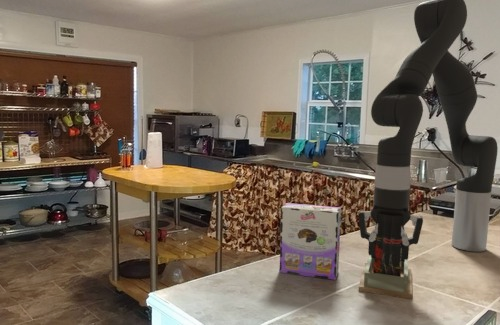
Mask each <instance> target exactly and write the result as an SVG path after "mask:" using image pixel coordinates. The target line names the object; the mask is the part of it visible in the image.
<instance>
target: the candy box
mask: <svg viewBox="0 0 500 325" xmlns="http://www.w3.org/2000/svg"><path fill="white" fill-rule="evenodd" d="M341 209H342V208H341V207H339V206H337V207H336V206H327V205H326V206H325V205H314V204H304V203H291V202H287V203H284V205H282V206H281V208H280V239H279V240H280V242H279V244H280V245H279V270H278V271H279V273H283V274H289V275H297V276H298V275H299V276H304V277H305V276H306V277H311V278H312V277H313V278H320V279H327V280H336V279H337V277H338V274H339V268H340V267H339V265H340V264H339V262H340V245H341V242H340V240H341V218H342V217H341V216H342V214H341V213H342V212H341V211H342V210H341Z"/></svg>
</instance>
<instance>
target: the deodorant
mask: <svg viewBox="0 0 500 325" xmlns="http://www.w3.org/2000/svg"><path fill="white" fill-rule="evenodd" d="M403 219H404V215H398V214H388V213H377V223H375V225H377V224H378V228H377V229H378V233H377V234H376V238H375V255H374V269H373V273H378V274H385V275H392V276H400V277H401V263H402V262H401V258H402V245H403V242H402V237H401V226H402V227H403V230H404V229H405V225H404V226H403Z"/></svg>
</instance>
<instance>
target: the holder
mask: <svg viewBox="0 0 500 325" xmlns="http://www.w3.org/2000/svg"><path fill="white" fill-rule="evenodd" d="M408 259H409V258H408ZM408 259H407V260H406V259H405V262H402V263H401V277H400V276H392V275H385V274H378V273H373V269H374V258H371V255H369V254H368V258H367V262H365V263H364V266H363V269H362V272H361V273H362V274H361V277H360V281H359V285H358V291H359V292H364V293H371V294H379V295H384V296H389V297H397V298H403V299H408V300H412V299H413V291H412V290H413V284H412V283H413V282H412V280H413V279H412V269H411V268H409V264H408V263H409V261H408Z"/></svg>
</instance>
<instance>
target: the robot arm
mask: <svg viewBox="0 0 500 325" xmlns="http://www.w3.org/2000/svg"><path fill="white" fill-rule="evenodd" d="M467 19H468V10H467V5H466V2H465V0H427V1H423V2H421V3H419V4H417V5H416V7H415V9H414V13H413V20H414V22H413V23H414V28H415V31H416V34H417V36H418V38H419V41H420V44H419V45H418V46H416V47H415V48H414V49H413V50H412V51H411V52H410V53H409V54H408V55H407V56H406V57H405V59H404V60H403V62H402V64H401V65H400V67H399V69H398V71H397V72H396V76H395V77H394V78H393V79H392V80H391V81H390V82H389V83H388V84H387V85H386V86H384V88H383V89H382V90H380V92H379V93H378V94H377V95H376V97H375V99H374V100H373V103H372V105H371V109H370V116H371V119H372V121H373V122H374V123H375V124H376V125H377V126H380V127H381V126H382V127H392V128H398V131H397V133H396V135H394V136H391V137H384V138H381V139H380V140H378V143H377V153H376V154H377V155H376V168H375V174H374V180H373V184H374V187H373V188H374V189H373V204H372V205H373V206H372V209H371V210H366V211H365V210H364V209H363V210H360V211H359V212H358V222H359V224H358V225H359V232H360V237H361V239H366V240H367V241H368V256H369V255H371V258H374V255H375V238H376V234H377V233H378V229H377V228H378V224H377V225H376V223H377V213H388V214H398V215H404V219H403V226H404V227H405V225H406V224H407V223H409V221H411V223H412V226H413V227H414V229H413V233H412V236H410V237H409V236H408V235H407V231H406V229H405V228H404V230H403V227H402V226H401V237H402V242H403V245H402V258H401V262H405V259H406V260H407V259H409V253H410V252H409V251H410V246H411V245H417V244H418V243H419V241H420V236H421V231H422V229H423V228H422V227H423V224H424V218H423V216H422V215H418V216H417V215H413V214H411V213H410V210H409V209H410V198H411V197H410V194H411V184H412V182H411V181H412V179H411V178H412V176H411V174H412V173H411V162H412V161H411V160H412V159H411V158H412V150H413V149H412V148H413V145H414V140H415V137H416V134H417V131H418V129H419V125H420V124H421V120H422V118H423V113H424V106H423V102H422V100H421V98H420V96H422V95H423V94H424V92H425V90H426V89H427V87H428V84H429V82H430V80H431V78H432V77H433V80H434V85H435V88H436V92H437V96H438V98H439V101H440V105H441V108H442V111H443V115H444V118H445V122H446V128H447V131H448V136H449V142H450V149H451V154H452V157H453V160H454V162H455V163H456V164H457V165H458V166H462V167H468V168H476V172H475V173H474V174H472V175H470V176H467V177H462V178H458V179H457V181H456V184H455V197H454V198H455V201H454V209H453V210H454V212H453V224H452V232H451V233H452V235H451V246H452V247H454V248H455V249H459V250H463V251H467V252H473V253H474V252H479V253H480V252H485V251H486V250H487V243H488V234H489V223H490V210H491V199H492V189H493V188H492V187H493V183H494V180H495V171H496V165H497V158H498V150H499V149H498V147H499V146H498V143H497V140H496V139H495V137H493V136H489V135H488V136H487V135H472V134H471V135H469V133H468V131H467V126H466V125H467V120H468V118H469V117H470V115H471V114H472V111H473V110H474V108H475V106H476V103H477V101H478V93H477V92H478V91H477V87H476V83H475V79H474V77H473V74H472V72H471V71H470V69H468V67H467V66H466V65H464V64H463V63H462V62H461V61H460V60H459V59H457V57H455V56H454V55H453V54H452V53H451V52H450V51H449V49H451V46H452V45H453V44H454V43H455V41H456V40H457V39H458V37H460V35H461V33H462V31H463V30H464V27H465V26H466V23H467ZM370 217H371V218H372V220H373V221H374V222H375V225H374V227H373V229H372V231H371V233H370V232H368V228H367V221H369V218H370Z"/></svg>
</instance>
